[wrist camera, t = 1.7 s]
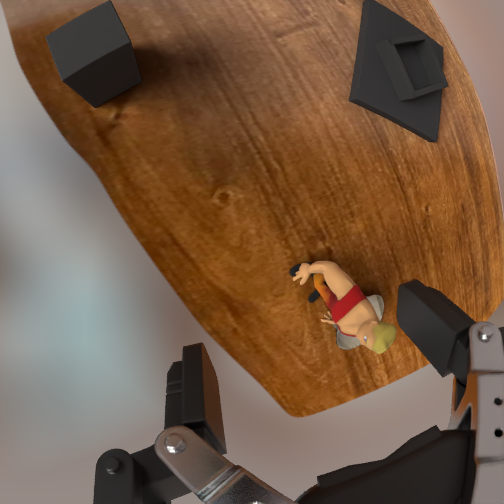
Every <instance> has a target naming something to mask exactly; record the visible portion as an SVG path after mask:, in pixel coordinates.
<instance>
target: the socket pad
mask: <svg viewBox="0 0 504 504" xmlns="http://www.w3.org/2000/svg"><path fill="white" fill-rule="evenodd" d="M445 87H448V83H447V80H446V78H445V75H444V72H443V47H442V46H441V45H439V44H438V43H437V42H436V41H434V40H433V39H432V38H430V37H429V36H428V35H427V34H425V33H424V32H422V31H421V30H420V29H418V28H417V27H415V26H414V25H412V24H411V23H410V22H408V21H407V20H405V19H404V18H402V17H401V16H399V15H398V14H396V13H394V12H393V11H391V10H390V9H388V8H386V7H385V6H383V5H381V4H380V3H378V2H376V1H375V0H365V1H363V8H362V17H361V25H360V33H359V40H358V47H357V54H356V61H355V68H354V74H353V80H352V87H351V92H350V98H349V101H351V102H353V103H355V104H357V105H360V106H362V107H364V108H366V109H368V110H370V111H372V112H374V113H376V114H379V115H381V116H383V117H385V118H387V119H389V120H390V121H392V122H394V123H396V124H398V125H400V126H402V127H404V128H406V129H407V130H409V131H411V132H413V133H415V134H416V135H418V136H420V137H422V138H423V139H425V140H427V141H429V142H437V138H438V130H439V121H440V110H441V98H442V88H445Z"/></svg>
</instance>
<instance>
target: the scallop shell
mask: <svg viewBox="0 0 504 504" xmlns="http://www.w3.org/2000/svg"><path fill="white" fill-rule="evenodd" d="M366 298H367V299H368V300H369V301H370V302H371V304H372V306H373V307H374V309H375V312H376V314H377V316H378V317H379V319H380V320H381V318H382V315H383V313H384V311H383V310H384V302H383V299H382V297H381V296H379V295H371V296H366ZM333 326H334V328H336V329H337V330H336V332H337V333H336V342H337V345H338V346H339V348H341V349H344V350H349V349H352V348H356V347H357V346H359V345H360V340H359V339H358V338H357V337H352V336H346V335H344V334H342V333H341V332H340V330H339V328H338V326H337V325H336V324H333Z"/></svg>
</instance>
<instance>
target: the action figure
mask: <svg viewBox="0 0 504 504" xmlns="http://www.w3.org/2000/svg"><path fill="white" fill-rule="evenodd" d="M289 273H290V275H291V276H295V277H294V278H293V281H296V279H298V278H302V280H301V281H300V285H303V284H304V283H305V282H306V281H307V279H308V278H309V276H310V274H311V276H312V278H313V281H314V284H315V287H316V290H315V291H314V292H313V293H312V294H311V295H310V296H309V298H308V301H309V302H310V303H312V302H314V301H315V300H316V299H317V298H318V297H319V296H320V295H321V296H322V298H323V299H324V301H325V302H326V305H327V306H328V307H329V309H330V310H331V312H330V311H327V312H328V314H329V315H330V316H331V317H332V318H331V317H329V316H327V315H326V314H324V317H325V318H327V320H326V319H321V321H323V322H327V323H330V324H336V325H337V326H338V328H339V330H340V332H341V333H342V334H344V335H346V336H352V337H357V338H358V339H359V340H360V344H362V345H364V346H366V347H368V348H369V349H370V350H373V351H375V352H376V353H378V354H379V353H384V352H385V351H386V350H387V349H388V348H389V347H390V345H391V344H392V343H393V341H394V339H395V336H396V327H395V326H394V325H393V324H390V323H386V322H383V321H380V319H379V317H378V316H377V314H376V312H375V309H374V307H373V306H372V304H371V302H370V301H369V300H368V299H367V298H366V297H365V295H364V294H363V292H362V291H361V289H360V287H359V285H356V284H355V283H354V282H353V281H352V279H351V278H350V277H349V275H347V274H346V273H345V272H344V271H342V270H341V269H340V267H339V266H338V265H337V264H336V263H334V262H331V261H316V262H314V263H313V264H312V263H309V262H307V263H302V264H298V265H296V266H294V267H292V268H291V269H290V272H289ZM324 279H325V281H326V283H327V284H328V286H329V287H327V286H326V285H325V283H324Z"/></svg>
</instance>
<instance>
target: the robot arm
mask: <svg viewBox="0 0 504 504" xmlns="http://www.w3.org/2000/svg"><path fill="white" fill-rule="evenodd" d="M397 321H398V324H399V326H400V327H401V329H402V330H403V331H404V332H405V333H406V335H407V336H408V337H409V338H410V339H411V340H412V341H413V343H414V344H415V345H416V346H417V347H418V349H419V350H420V351H421V352H422V353H423V354H424V356H425V357H426V358H427V359H428V360H429V362H430V363H431V364H432V365H433V366H434V368H435V369H436V370H437V371H438V373H439V374H440V375H441V376H442V377H445V376H447V375H448V374H450V373H453V374H454V375H455V376H454V379H453V393H452V394H453V395H452V408H451V418H450V423H449V426H448V429H447V430H443V431H440V430H439V428H438V427H437V425H435V426H433V427H431V428H430V429H428V430H426V431H424V432H422V433H420V434H419V435H417V436H415V437H413V438H411V439H409V440H408V441H407V442H406V443H405V444H403V445H402V446H401V447H400V448H399V449H397V450H396V451H395V452H394V453H392V454H391V455H390V456H388V457H387V458H385V459H383V460H378V461H374V462H368V463H362V464H356V465H349V466H347V467H344V468H341V469H338V470H336V471H332V472H329V473H326V474H324V475H320V476H317V481H318V484H316V485H314V486H313V487H311V488H309V489H308V490H307V491H305V492H304V493H303V494H302V495H300V496H299V498H297V499H296V500H295V501H292V500H291V499H289V498H288V497H286V496H284V495H283V494H281V493H279V492H278V491H277V490H275V489H273V488H272V487H271V486H269V485H267V484H266V483H265V482H263V481H262V480H260V479H259V478H257V477H256V476H254V475H253V474H252V473H250V472H249V471H247V470H246V469H244V468H243V467H241V466H239V465H237V466H236V465H234V464H233V463H231V462H230V461H229V460H227V459H226V458H225V457H223V456H222V455H223V454H227V451H226V444H225V436H224V428H223V420H222V412H221V404H220V394H219V386H218V380H217V376H216V372H215V370H214V367H213V365H212V363H211V360H210V358H209V355H208V353H207V351H206V348H205V346H204V344H203V343H197V344H193V345H189V346H184V347H183V358H182V361H178V362H173V364H172V366H171V368H170V370H169V371H168V373H167V388H166V389H167V390H166V393H167V395H166V406H165V427H164V431H162V432H161V433H160V434H159V435H158V437H157V439H156V441H155V444H154V445H152V446H150V447H148V448H146V449H143V450H141V451H138V452H136V453H133V454H129V453H128V452H126V451H124V450H122V449H111V450H108V451H106V452H105V453H103V454H102V455H101V457H100V458H99V459H98V461H97V464H96V472H95V485H94V503H93V504H171V500H173V499H175V498H178V497H181V496H183V495H185V494H188V493H190V492H193V493H194V494H195V495H197V496H198V498H199V499H200V500H201V501H202V502H203V503H204V504H504V327H501V328H498V327H496V326H495V325H494V324H492V323H489V322H484V321H481V322H477V323H476V322H475V321H474V320H473V319H471V318H470V317H469V316H468V315H467V314H466V313H465V312H464V311H462V310H461V309H460V308H459V307H458V306H457V305H456V304H454V303H453V302H452V301H451V300H450V299H447V297H446V296H445V295H444V294H443V293H441V292H440V291H439V290H436V289H434V288H431V287H426V286H425V285H424V284H422V283H421V282H420V281H419V280H417V279H414V280H411V281H409V282H406V283H403V284H401V285H400V286H399V288H398V302H397Z"/></svg>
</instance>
